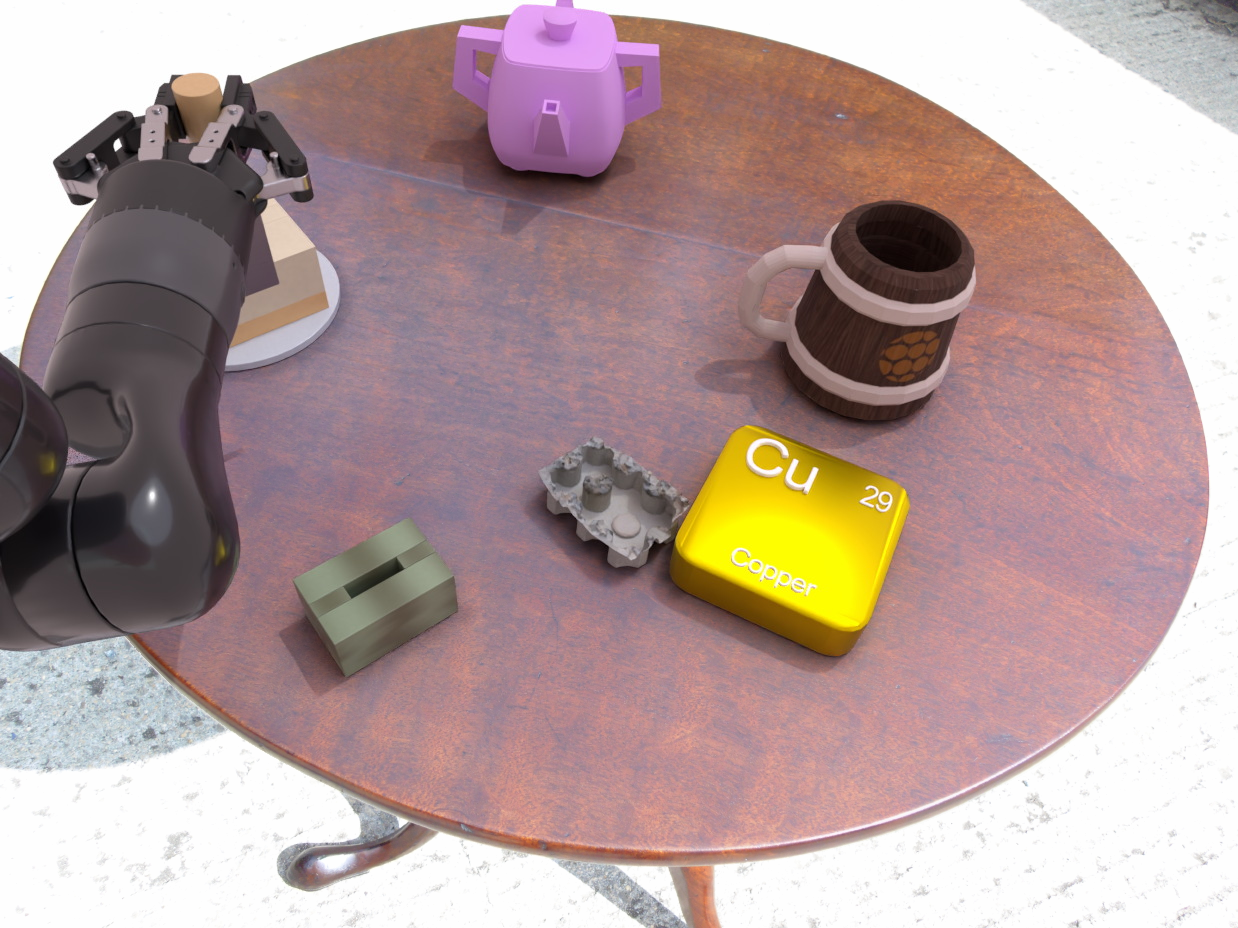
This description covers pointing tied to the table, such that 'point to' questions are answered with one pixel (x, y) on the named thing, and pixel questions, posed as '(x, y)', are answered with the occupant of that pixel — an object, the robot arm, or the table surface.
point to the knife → (197, 109)
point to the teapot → (556, 87)
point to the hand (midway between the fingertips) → (210, 89)
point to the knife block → (377, 595)
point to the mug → (870, 308)
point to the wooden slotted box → (284, 280)
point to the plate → (289, 330)
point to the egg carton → (613, 501)
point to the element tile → (791, 539)
